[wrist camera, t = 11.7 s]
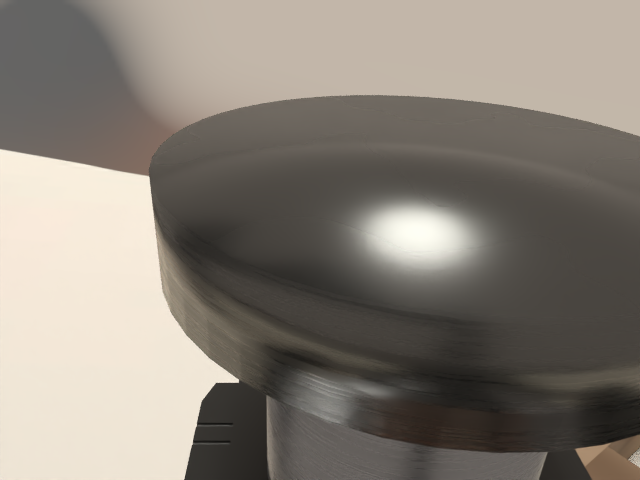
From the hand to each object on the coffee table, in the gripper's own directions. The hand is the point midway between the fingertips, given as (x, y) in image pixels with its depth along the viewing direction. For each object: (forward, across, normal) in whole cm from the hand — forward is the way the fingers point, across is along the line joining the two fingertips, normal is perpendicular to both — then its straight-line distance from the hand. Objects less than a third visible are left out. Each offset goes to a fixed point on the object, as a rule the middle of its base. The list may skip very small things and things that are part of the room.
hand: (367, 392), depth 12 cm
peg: (-3, 0, +9) cm, 9 cm away
